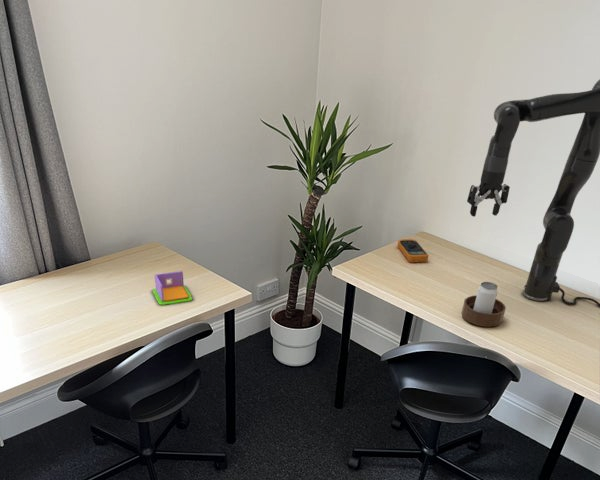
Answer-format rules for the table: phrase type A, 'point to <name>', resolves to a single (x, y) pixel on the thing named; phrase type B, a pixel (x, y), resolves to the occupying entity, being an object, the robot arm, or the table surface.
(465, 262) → the table surface
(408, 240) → the multimeter
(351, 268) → the table surface
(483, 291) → the can
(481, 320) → the bowl
